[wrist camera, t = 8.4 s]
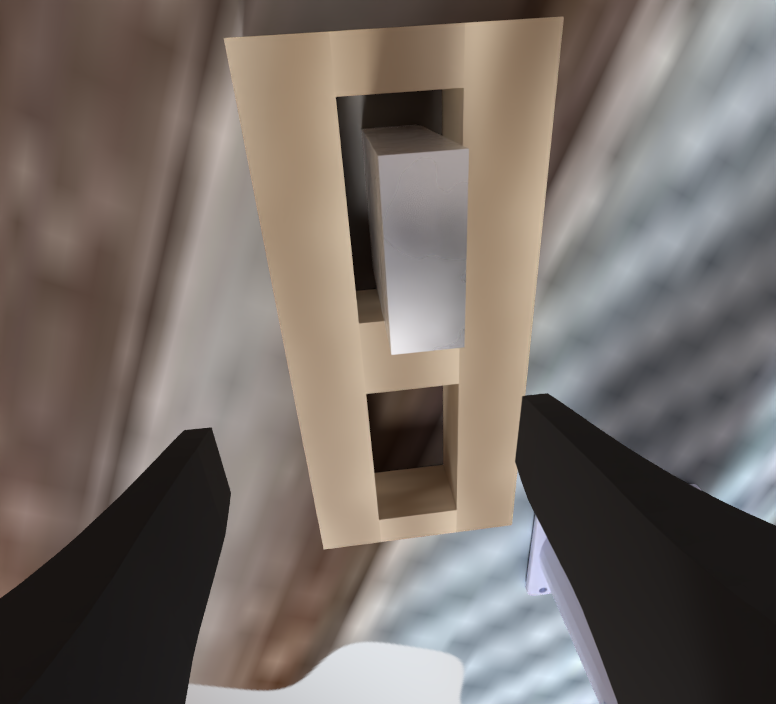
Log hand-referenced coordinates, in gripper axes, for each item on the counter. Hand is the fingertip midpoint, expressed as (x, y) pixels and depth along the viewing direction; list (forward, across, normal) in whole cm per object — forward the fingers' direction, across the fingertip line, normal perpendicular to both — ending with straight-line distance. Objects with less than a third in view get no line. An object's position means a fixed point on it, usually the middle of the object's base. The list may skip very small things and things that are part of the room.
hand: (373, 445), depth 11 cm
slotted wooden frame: (+9, -2, +1) cm, 10 cm away
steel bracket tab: (+9, -2, -4) cm, 10 cm away
